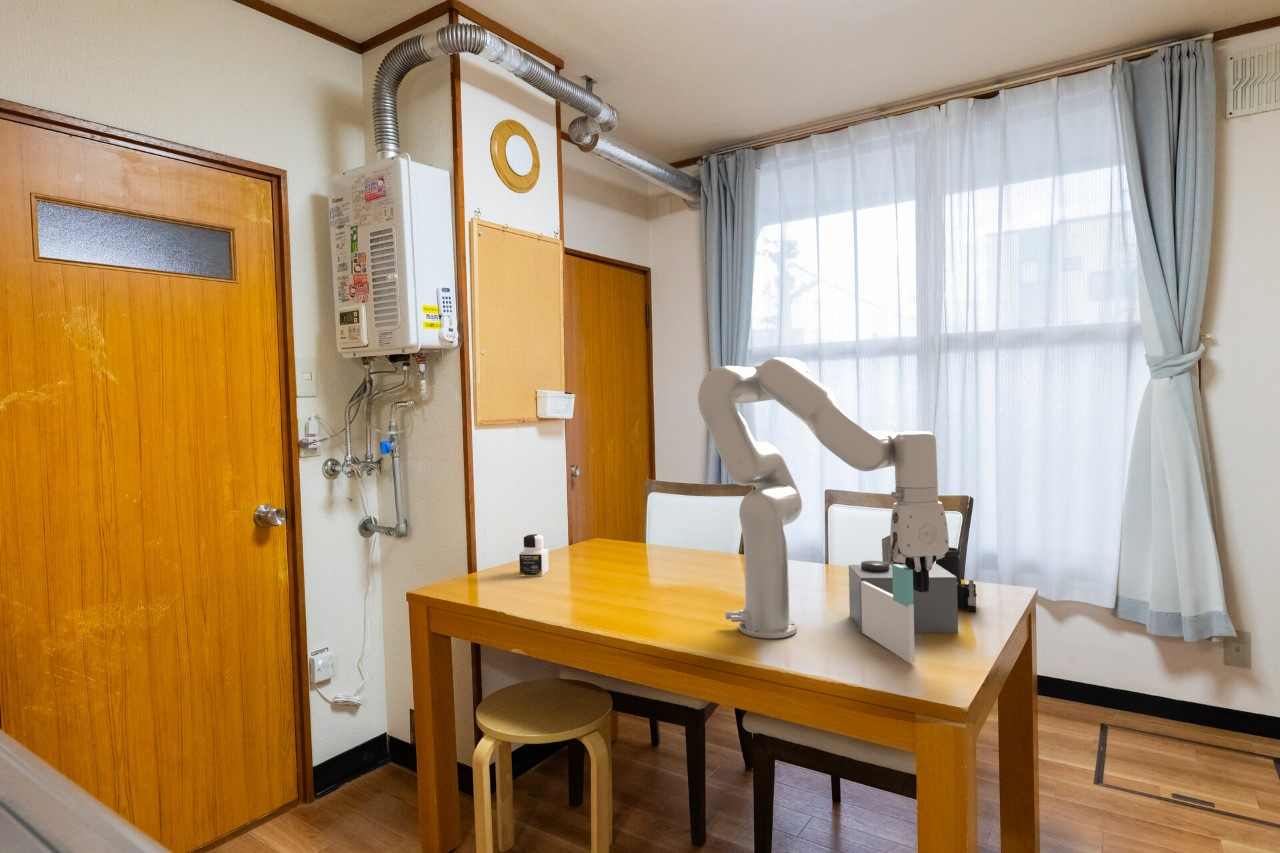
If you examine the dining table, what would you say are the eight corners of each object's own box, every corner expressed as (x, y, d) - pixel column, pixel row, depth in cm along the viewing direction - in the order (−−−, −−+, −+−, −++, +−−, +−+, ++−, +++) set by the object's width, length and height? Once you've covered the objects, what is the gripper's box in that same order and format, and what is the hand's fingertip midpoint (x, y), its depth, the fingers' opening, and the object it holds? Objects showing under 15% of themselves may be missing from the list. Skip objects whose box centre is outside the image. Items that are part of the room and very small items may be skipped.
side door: (858, 630, 145) (856, 550, 144) (864, 630, 145) (862, 550, 145) (909, 662, 126) (907, 570, 126) (915, 662, 126) (913, 570, 126)
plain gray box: (862, 632, 145) (860, 572, 145) (849, 615, 157) (848, 559, 157) (957, 632, 143) (956, 571, 143) (938, 615, 155) (936, 559, 155)
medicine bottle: (519, 576, 204) (518, 537, 204) (527, 570, 211) (526, 533, 211) (542, 576, 203) (540, 537, 203) (549, 571, 210) (547, 533, 210)
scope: (975, 554, 155) (928, 551, 160) (976, 613, 156) (929, 609, 160) (976, 547, 163) (931, 545, 167) (977, 604, 163) (932, 600, 168)
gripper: (894, 500, 123) (898, 599, 124) (963, 495, 127) (966, 591, 127) (871, 496, 131) (874, 589, 131) (937, 491, 134) (940, 582, 135)
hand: (920, 590), depth 129 cm, fingers closed
